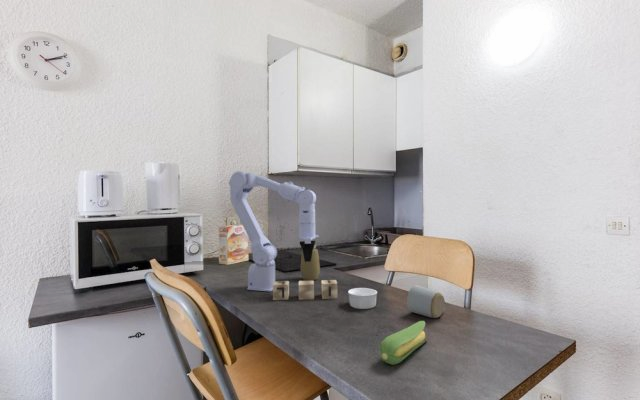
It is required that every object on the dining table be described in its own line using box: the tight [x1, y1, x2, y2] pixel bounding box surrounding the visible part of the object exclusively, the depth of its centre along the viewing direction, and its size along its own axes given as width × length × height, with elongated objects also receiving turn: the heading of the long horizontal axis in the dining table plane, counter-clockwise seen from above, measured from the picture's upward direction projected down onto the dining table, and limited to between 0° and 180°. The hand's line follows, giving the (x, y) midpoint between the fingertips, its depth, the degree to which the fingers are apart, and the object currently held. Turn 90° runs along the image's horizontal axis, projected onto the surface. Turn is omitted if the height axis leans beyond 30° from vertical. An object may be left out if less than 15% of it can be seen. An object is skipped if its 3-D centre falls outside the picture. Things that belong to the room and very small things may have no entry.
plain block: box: [298, 280, 315, 301], centre depth 112 cm, size 5×5×5 cm
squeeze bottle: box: [299, 239, 321, 281], centre depth 137 cm, size 8×8×18 cm
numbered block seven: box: [272, 280, 290, 301], centre depth 112 cm, size 5×5×5 cm
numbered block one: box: [320, 279, 338, 300], centre depth 113 cm, size 5×5×5 cm
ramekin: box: [347, 287, 378, 310], centre depth 103 cm, size 9×9×4 cm
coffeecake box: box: [218, 223, 249, 266], centre depth 177 cm, size 15×7×20 cm, turn 147°
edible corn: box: [379, 320, 427, 366], centre depth 72 cm, size 5×20×5 cm
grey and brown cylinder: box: [406, 284, 446, 319], centre depth 95 cm, size 11×8×8 cm
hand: (307, 261), depth 120 cm, fingers closed
